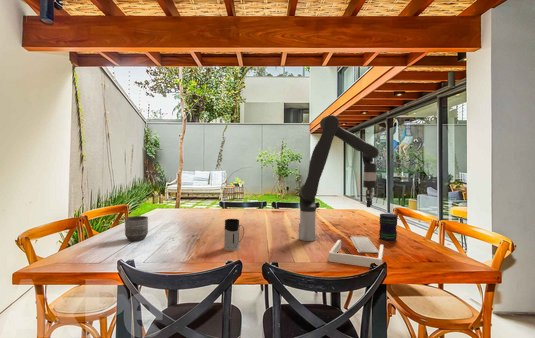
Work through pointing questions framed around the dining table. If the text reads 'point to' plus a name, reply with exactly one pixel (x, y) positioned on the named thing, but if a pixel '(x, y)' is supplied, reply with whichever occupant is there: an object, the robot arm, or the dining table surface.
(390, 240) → the storage jar
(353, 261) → the frame
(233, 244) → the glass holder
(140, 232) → the planter
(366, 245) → the baseboard
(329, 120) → the robot arm
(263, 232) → the dining table surface
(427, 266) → the dining table surface
